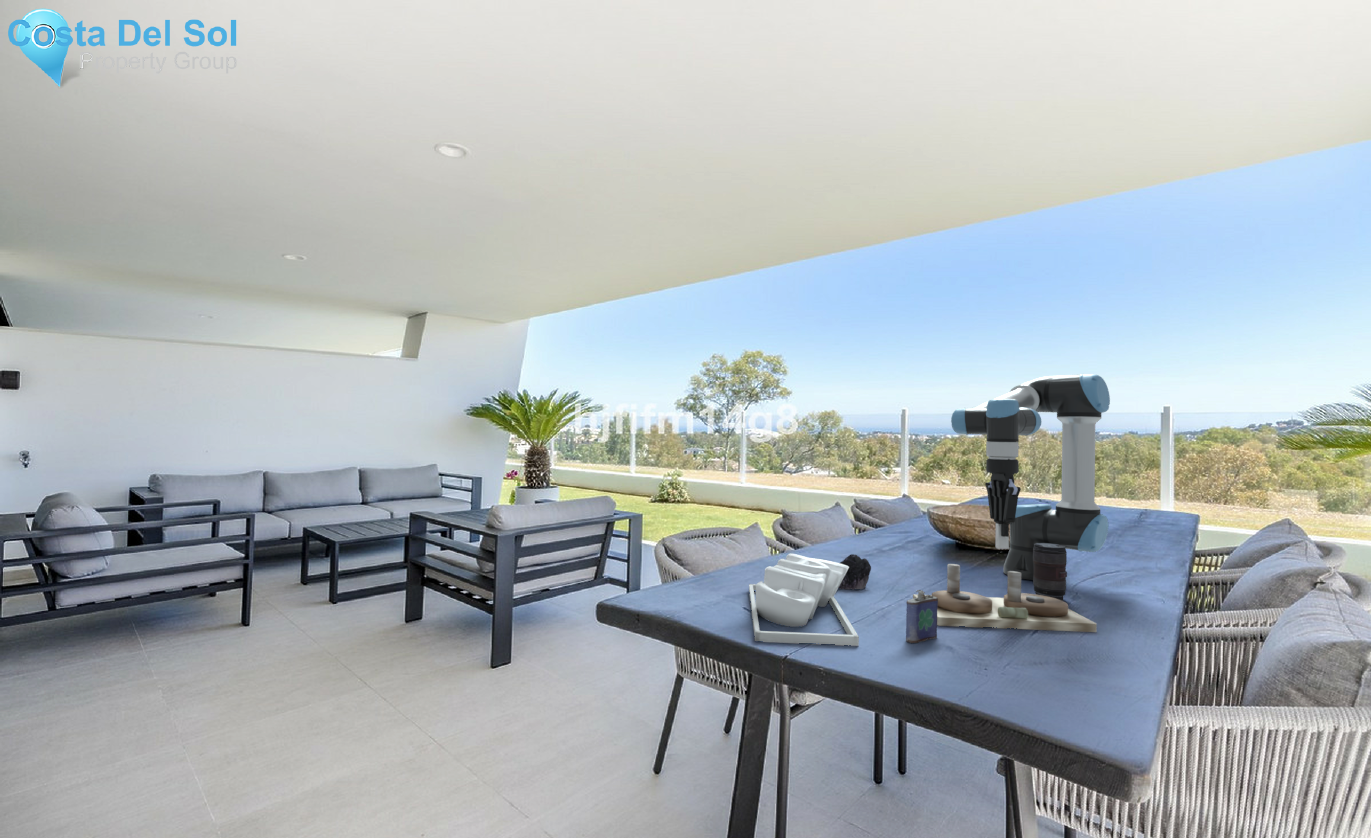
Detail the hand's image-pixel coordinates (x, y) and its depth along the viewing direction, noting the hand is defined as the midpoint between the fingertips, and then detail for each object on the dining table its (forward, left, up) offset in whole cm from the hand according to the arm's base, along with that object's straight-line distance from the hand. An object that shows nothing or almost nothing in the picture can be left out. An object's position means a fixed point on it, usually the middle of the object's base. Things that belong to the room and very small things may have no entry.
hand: (1002, 548), depth 159 cm
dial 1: (+12, +6, -14) cm, 20 cm away
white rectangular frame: (+54, +12, -16) cm, 58 cm away
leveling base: (+3, +6, -16) cm, 17 cm away
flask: (+28, +26, -16) cm, 42 cm away
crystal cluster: (+36, -20, -16) cm, 44 cm away
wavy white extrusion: (+53, +7, -16) cm, 56 cm away
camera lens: (-19, -13, -16) cm, 28 cm away
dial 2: (-6, +6, -14) cm, 16 cm away
